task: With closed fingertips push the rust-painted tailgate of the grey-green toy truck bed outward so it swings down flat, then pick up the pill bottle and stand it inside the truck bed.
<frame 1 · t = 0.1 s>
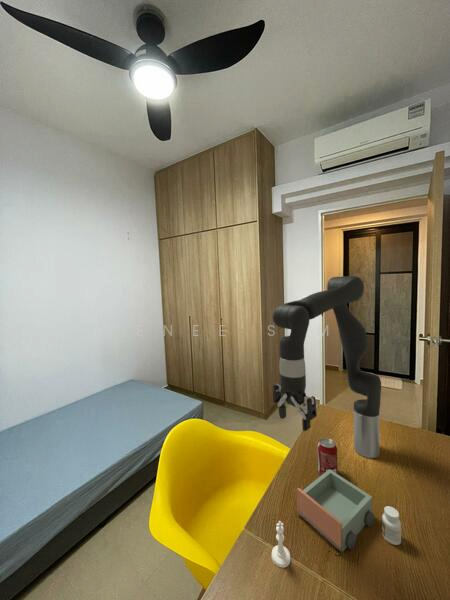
hand: (293, 423, 75), 29 cm above the table, fingers open, 8 cm apart
truck bed: (335, 514, 76), on the table
chess piece: (281, 557, 65), on the table
tailgate: (317, 516, 71), point 5 cm above the table, hinge at -3.0°
soda can: (327, 473, 92), on the table
pill bottle: (391, 538, 69), on the table
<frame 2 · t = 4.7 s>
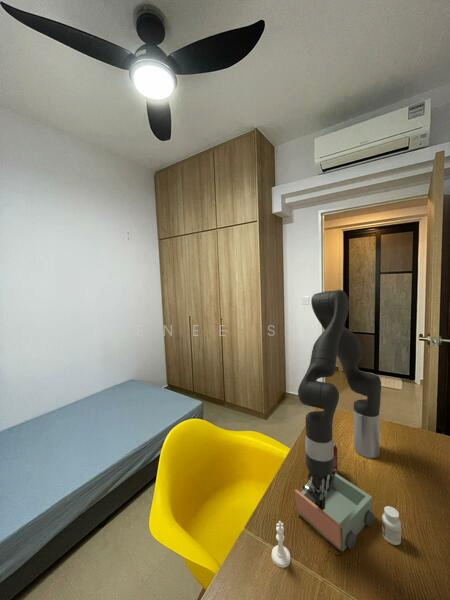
hand: (320, 507, 71), 7 cm above the table, fingers closed
tailgate: (316, 517, 70), point 5 cm above the table, hinge at 5.4°, touching gripper
everything else where it was.
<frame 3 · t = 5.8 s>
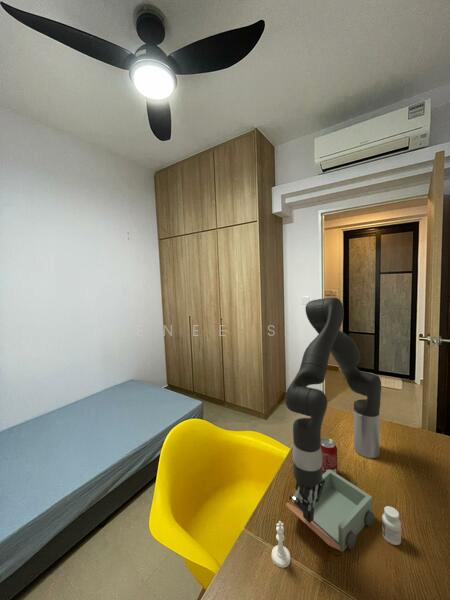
hand: (308, 518, 68), 7 cm above the table, fingers closed
tailgate: (312, 525, 69), point 4 cm above the table, hinge at 44.8°
everything else where it was.
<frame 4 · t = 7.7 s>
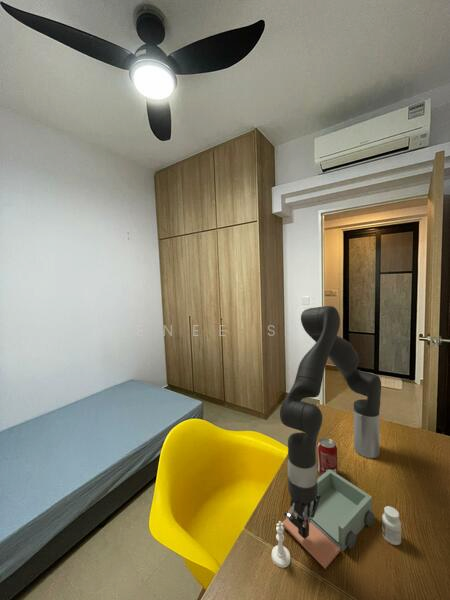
hand: (303, 535, 67), 3 cm above the table, fingers closed
tailgate: (310, 535, 69), point 1 cm above the table, hinge at 90.4°
everything else where it was.
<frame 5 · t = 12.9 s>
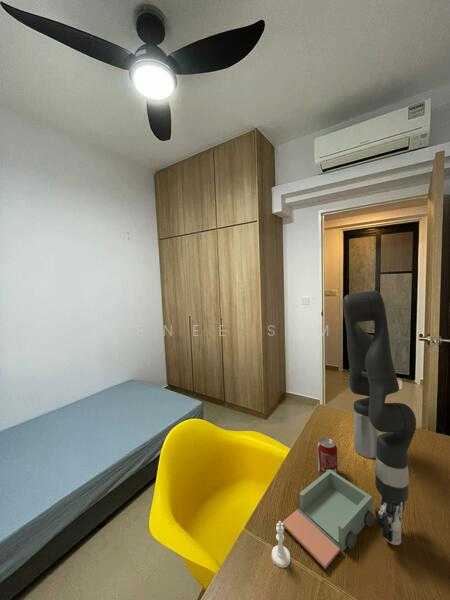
hand: (391, 533, 68), 1 cm above the table, fingers closed on pill bottle, 4 cm apart
pill bottle: (391, 538, 69), on the table, touching gripper
everything else where it was.
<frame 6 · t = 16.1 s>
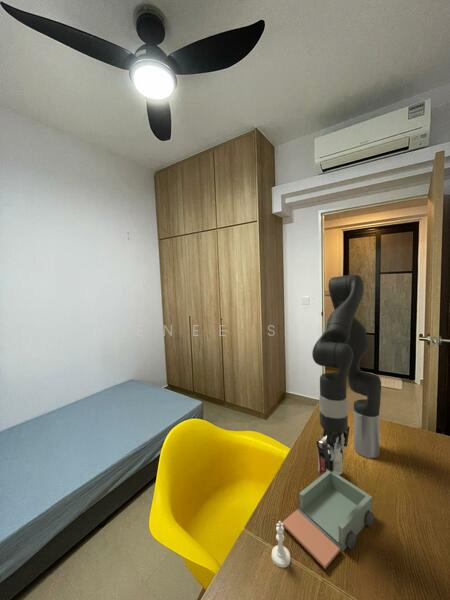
hand: (334, 465, 73), 17 cm above the table, fingers closed on pill bottle, 4 cm apart
pill bottle: (334, 470, 73), point 16 cm above the table, touching gripper
everything else where it was.
when the fingers open (4 cm above the table, at t = 19.1 s): pill bottle drops 1 cm, resting on truck bed.
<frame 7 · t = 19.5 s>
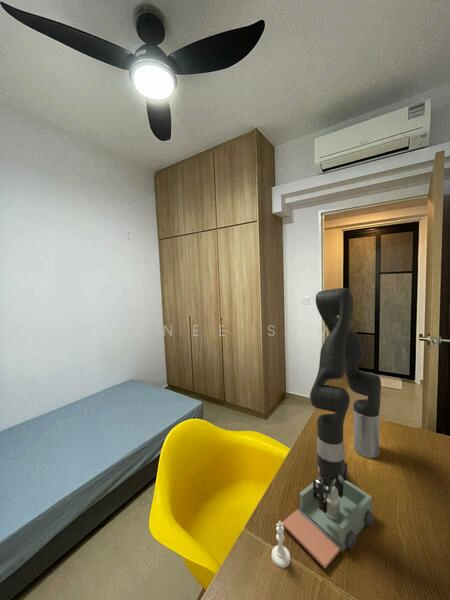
hand: (331, 502, 74), 5 cm above the table, fingers open, 8 cm apart
pill bottle: (331, 514, 75), point 1 cm above the table, touching truck bed
everything else where it was.
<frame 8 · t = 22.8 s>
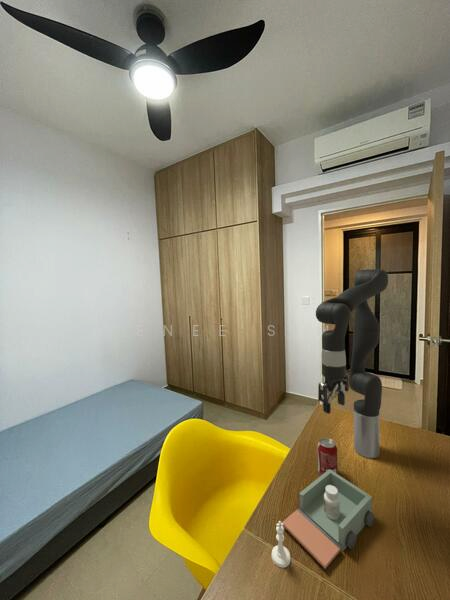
hand: (334, 408, 84), 28 cm above the table, fingers open, 8 cm apart
nothing on the table moved.
at the end: tailgate at +90° (first picture: -3°); pill bottle inside the target area on the truck bed (1.1 cm from its centre), point 1.3 cm above the truck bed's base; pill bottle tilted 0° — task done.
